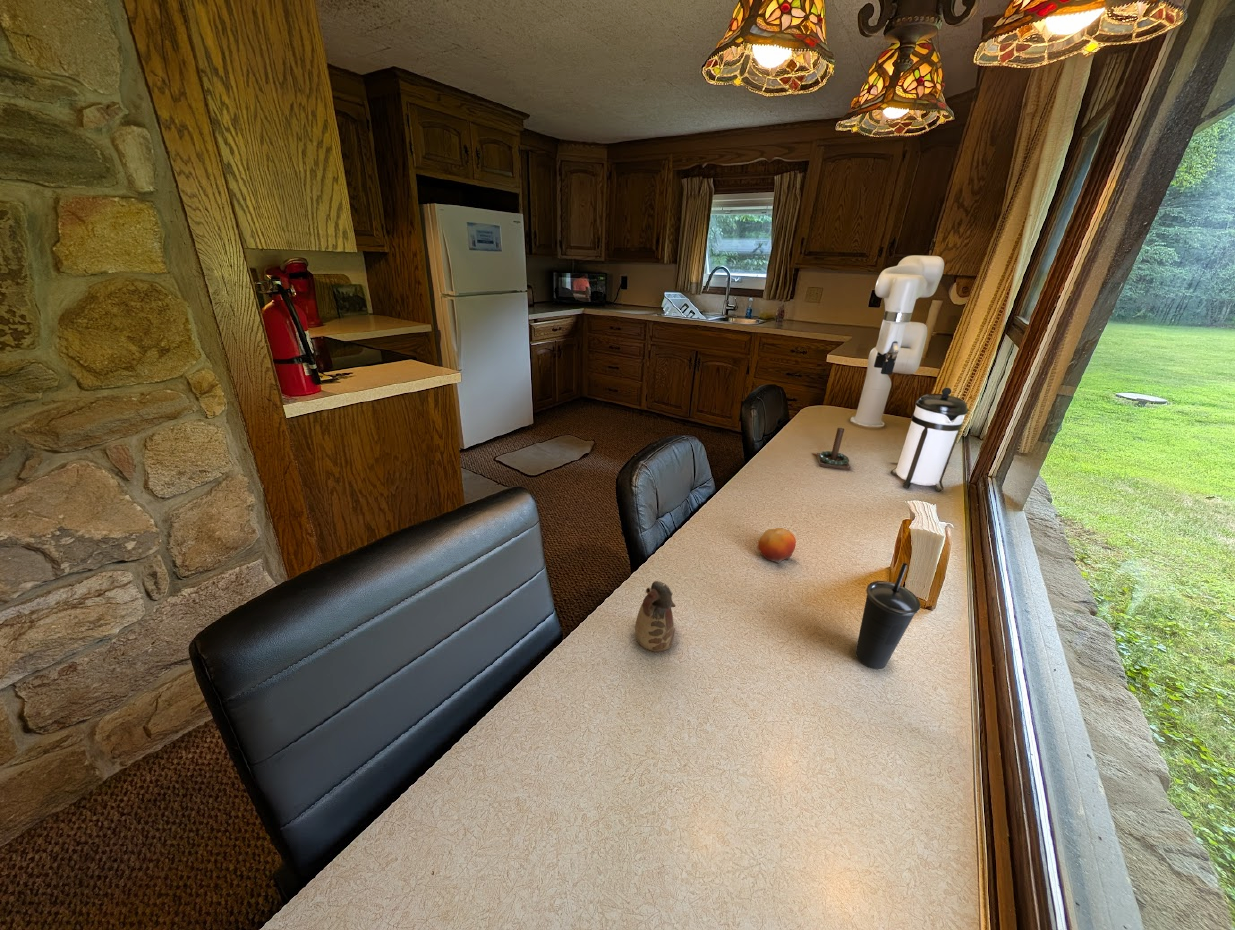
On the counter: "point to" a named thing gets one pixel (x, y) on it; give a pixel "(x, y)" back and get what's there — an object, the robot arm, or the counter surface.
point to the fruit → (777, 544)
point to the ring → (833, 462)
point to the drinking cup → (885, 620)
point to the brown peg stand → (835, 452)
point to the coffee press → (931, 439)
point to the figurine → (656, 618)
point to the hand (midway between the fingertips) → (882, 370)
